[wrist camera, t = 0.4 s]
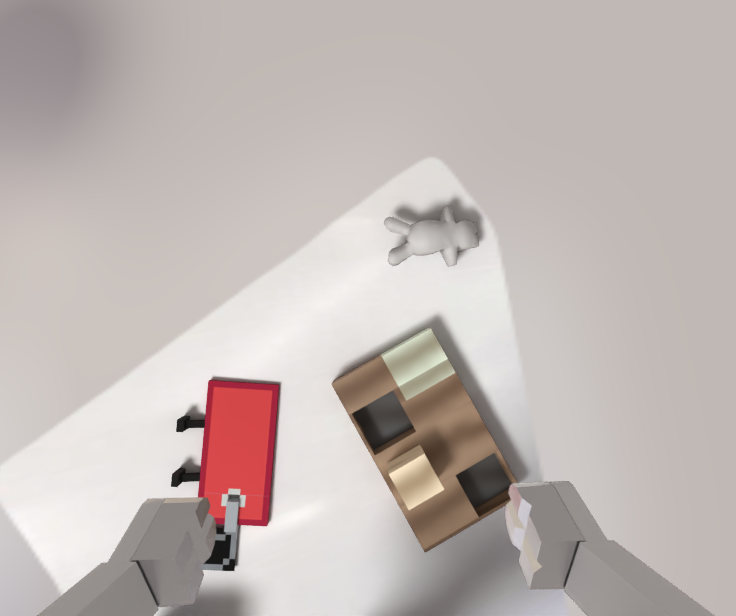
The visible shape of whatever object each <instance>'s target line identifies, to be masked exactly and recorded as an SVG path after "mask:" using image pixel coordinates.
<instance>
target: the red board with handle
mask: <svg viewBox="0 0 736 616" xmlns="http://www.w3.org/2000/svg"><path fill="white" fill-rule="evenodd" d="M278 394H279V385H276V384H262V383H247V382H232V381H217V380H209V382H208V393H207V404H206V415H205V420H190V416H183V417H181V418H179V419H178V420H177V429H176V432H183V431H185V430H186V429H188V428H204V437H203V448H202V459H201V470H200V473H185V468H179V469H178V470H177V471H175V472H174V473H173V474H172V482H171V487H178V486H179V485H180V484H181V483H182V482H189V481H199V492H198V498H206V497H208V500H209V503H210V505H211V506H210V509H209V511H208V513H209V514H210V515H212V516H213V517H214V519H215V522H216V524H225V526H224V529H223V528H216V538H215V544H214V548H213V551H212V553H211V556H210V558H209V559H208V560H207V561H206V562H205V563H204V564H203V565H202V566H201V567H202V570H221V571H234V568H235V556H236V544H237V533H238V528H239V525H252V526H267V525H268V519H269V507H270V494H271V482H272V469H273V457H274V444H275V432H276V419H277V406H278ZM230 494H231V495H240V498H230Z"/></svg>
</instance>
